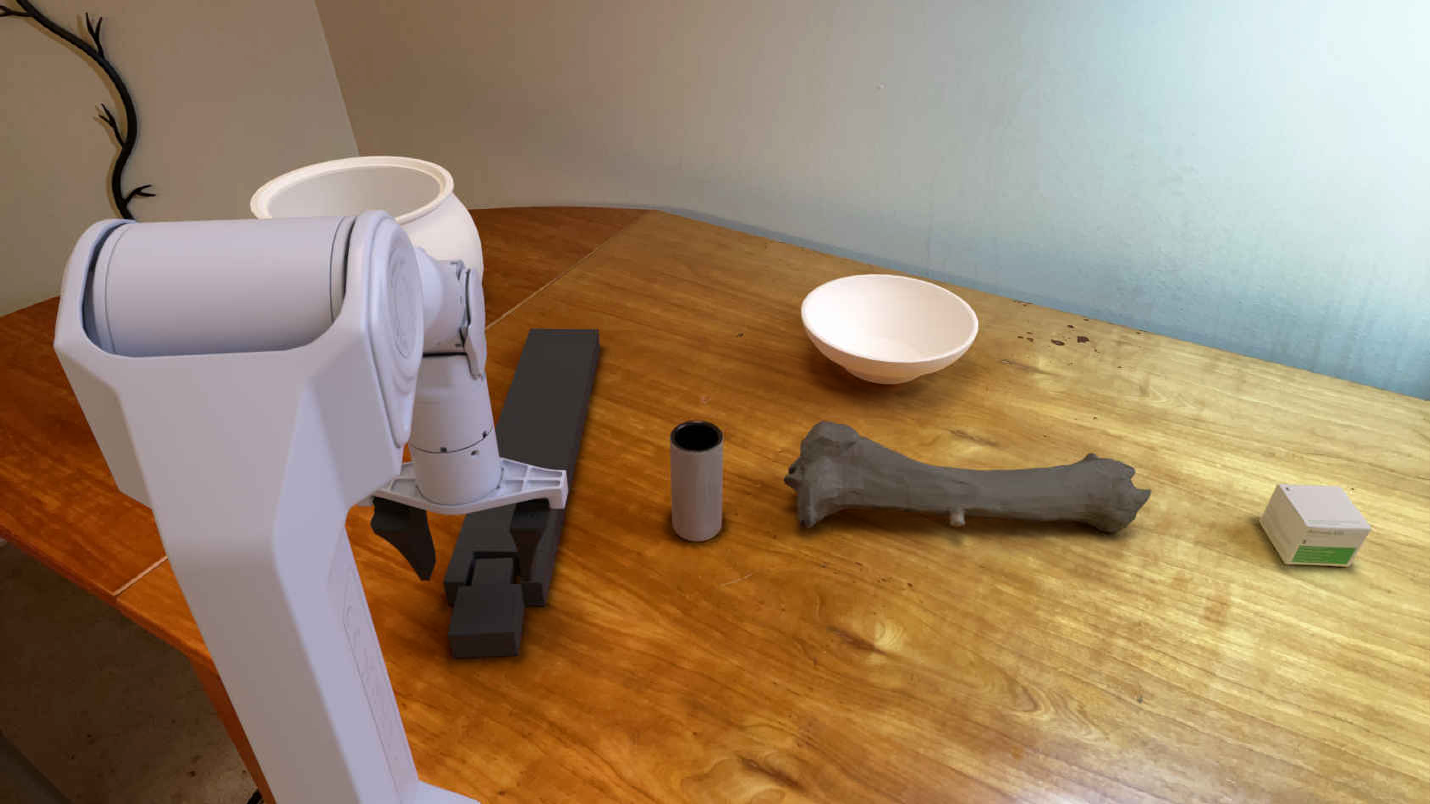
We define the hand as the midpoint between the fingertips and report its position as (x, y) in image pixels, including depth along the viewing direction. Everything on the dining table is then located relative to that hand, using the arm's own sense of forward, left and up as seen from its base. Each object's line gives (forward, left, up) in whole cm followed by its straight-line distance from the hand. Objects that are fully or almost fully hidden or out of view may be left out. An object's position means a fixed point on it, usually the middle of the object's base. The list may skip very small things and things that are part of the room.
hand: (479, 571), depth 69 cm
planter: (+20, -6, -7) cm, 22 cm away
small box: (+49, -52, -7) cm, 72 cm away
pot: (+29, +49, -7) cm, 57 cm away
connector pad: (+1, +1, -7) cm, 7 cm away
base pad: (+19, +13, -7) cm, 24 cm away
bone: (+35, -25, -7) cm, 43 cm away
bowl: (+54, -8, -7) cm, 55 cm away
